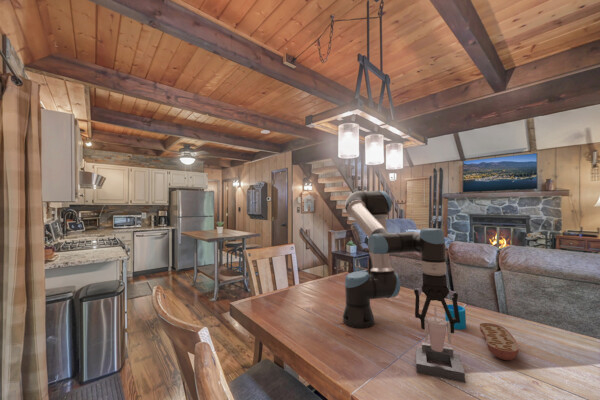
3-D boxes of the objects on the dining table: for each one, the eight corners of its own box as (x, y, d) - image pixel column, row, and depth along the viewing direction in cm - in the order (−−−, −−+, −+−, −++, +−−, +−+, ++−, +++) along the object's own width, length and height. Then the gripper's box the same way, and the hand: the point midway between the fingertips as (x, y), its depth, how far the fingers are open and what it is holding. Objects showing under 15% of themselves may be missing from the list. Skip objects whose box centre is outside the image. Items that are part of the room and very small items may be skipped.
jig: (416, 372, 87) (415, 357, 87) (416, 355, 97) (415, 341, 97) (465, 382, 81) (464, 366, 81) (459, 363, 91) (459, 348, 91)
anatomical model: (478, 333, 112) (477, 321, 112) (506, 337, 107) (505, 325, 108) (489, 362, 91) (489, 347, 91) (525, 369, 87) (524, 354, 87)
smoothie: (422, 344, 92) (422, 304, 92) (440, 343, 92) (439, 304, 92) (433, 354, 85) (433, 311, 86) (452, 353, 86) (451, 311, 86)
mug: (465, 331, 113) (464, 312, 114) (444, 326, 118) (443, 308, 118) (467, 321, 123) (466, 303, 123) (447, 317, 128) (447, 300, 128)
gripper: (403, 273, 90) (407, 340, 89) (468, 277, 82) (473, 351, 81) (404, 268, 97) (407, 331, 96) (464, 272, 89) (468, 340, 88)
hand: (437, 340), depth 89 cm, fingers closed on smoothie, 6 cm apart
